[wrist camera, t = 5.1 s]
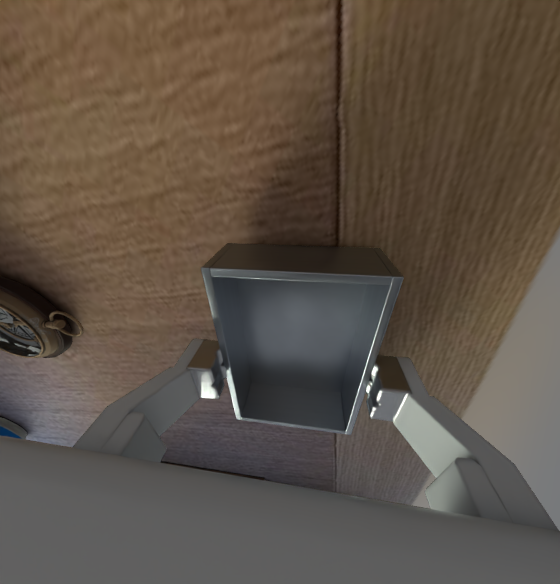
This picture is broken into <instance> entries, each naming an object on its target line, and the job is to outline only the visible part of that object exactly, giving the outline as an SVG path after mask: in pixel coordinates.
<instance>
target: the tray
mask: <svg viewBox="0 0 560 584" xmlns="http://www.w3.org/2000/svg"><path fill="white" fill-rule="evenodd" d="M201 271H202V275H203V279H204V283H205V288H206V292H207V296H208V300H209V305H210V309H211V313H212V317H213V321H214V326H215V330H216V334H217V338H218V343H219V347H220V350H221V354H222V358H223V364H224V367H225V371H226V375H227V381H228V385H229V389H230V393H231V398H232V402H233V406H234V410H235V414H236V419H237V420H245V421H252V422H259V423H266V424H274V425H281V426H288V427H296V428H303V429H310V430H318V431H325V432H332V433H340V434H347V435H351V433H352V430H353V427H354V424H355V421H356V418H357V415H358V412H359V409H360V406H361V403H362V400H363V398H364V395H365V391H366V388H367V385H368V382H369V380H370V377H371V373H372V370H373V367H374V364H375V362H376V359H377V356H378V353H379V350H380V347H381V344H382V341H383V338H384V335H385V332H386V329H387V326H388V323H389V320H390V317H391V314H392V311H393V308H394V305H395V302H396V299H397V296H398V293H399V290H400V287H401V284H402V281H403V278H404V277H403V276H402V274H401V273H400V272H399V271H398V269H397V268H396V267H395V266H394V264H393V263H392V262H391V261H390V259H389V258H388V257H387V255H386V254H385V253H384V252H383V250H382V249H381V248H369V247H336V246H302V245H269V244H236V243H227V244H226V245H225V246H224V247H223V248H222V249H221V250H220V251H218V252H217V253H216V254H215V255H214V256H213V257H212V258H211V259H210V260H209V261H208V262H207V263H206V264H205V265H204V266H202V267H201Z"/></svg>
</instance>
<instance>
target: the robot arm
mask: <svg viewBox="0 0 560 584" xmlns="http://www.w3.org/2000/svg"><path fill="white" fill-rule="evenodd" d="M226 377H227V375H226V371H225V367H224V364H223V358H222V354H221V350H220V347H219V343H218V341H216V340H208V339H197V338H195V339H193V340H192V341H191V343H190V344H189V345H188V347H187V348H186V350H185V351H184V353H183V354H182V356H181V357H180V359H179V360H178V361H177V363H176V364H175V366H174V367H173V368H171V367H170V368H168V369H167V370H165V371H163V372H162V373H160V374H159V375H157V376H155V377H154V378H152V379H151V380H149V381H147V382H146V383H144V384H142V385H141V386H139V387H138V388H136V389H134V390H133V391H131V392H130V393H128V394H126V395H125V396H123V397H122V398H120V399H118V400H117V401H115V402H114V403H112V404H110V405H109V406H107V407H106V408H105V410H104V411H103V412H102V413H101V414H100V415H99V417H98V418H97V419H96V420H95V421H94V423H93V424H92V425H91V426H90V427H89V428H88V430H87V431H86V432H85V433H84V434H83V435H82V437H81V438H80V439H79V440H78V441H77V443H76V444H75V445H74V446H73V447H72V448H71V447H66V446H60V445H54V444H48V443H42V442H36V441H30V440H25V439H19V438H13V437H7V436H1V435H0V584H560V531H559V530H558V529H557V527H556V526H555V524H554V523H553V521H552V520H551V518H550V517H549V515H548V514H547V512H546V511H545V509H544V508H543V506H542V505H541V503H540V502H539V500H538V499H537V497H536V496H535V494H534V493H533V491H532V490H531V488H530V487H529V485H528V484H527V482H526V481H525V479H524V478H523V476H522V475H521V473H520V472H519V470H518V469H517V467H516V466H515V464H514V463H512V462H511V461H510V460H509V459H508V458H506V457H505V456H504V455H503V454H502V453H501V452H499V451H498V450H497V449H496V448H495V447H493V446H492V445H491V444H490V443H489V442H487V441H486V440H485V439H484V438H483V437H482V436H480V435H479V434H478V433H477V432H476V431H474V430H473V429H472V428H471V427H469V426H468V425H467V424H466V423H465V422H464V421H462V420H461V419H460V418H459V417H458V416H457V415H455V414H454V413H453V412H452V411H451V410H449V409H448V408H447V407H446V406H445V405H443V404H442V403H441V402H440V401H439V400H438V399H436V398H435V397H434V396H429V394H428V392H427V390H426V388H425V386H424V384H423V382H422V380H421V378H420V376H419V375H418V373H417V371H416V369H415V367H414V365H413V363H412V361H411V359H410V358H408V357H396V356H395V357H394V356H385V355H378V356H377V359H376V362H375V364H374V367H373V370H372V373H371V377H370V380H369V382H368V385H367V388H366V391H365V393H366V394H367V395H368V398H367V401H366V402H367V407H368V411H369V415H370V418H372V419H378V420H385V421H391V422H394V425H395V426H396V427H397V428H398V430H399V431H400V432H401V434H402V435H403V436H404V437H405V439H406V440H407V441H408V443H409V444H410V445H411V446H412V448H413V449H414V450H415V452H416V453H417V454H418V455H419V457H420V458H421V459H422V461H423V462H424V463H425V465H426V466H427V467H428V468H429V470H430V471H431V472H432V474H433V475H434V476H435V477H436V479H435V480H434V481H433V482H432V483H431V484H430V485H429V486H428V487H427V489H426V490H425V494H426V497H427V500H428V503H429V506H430V509H428V508H423V507H417V506H411V505H405V504H399V503H393V502H388V501H382V500H376V499H370V498H364V497H358V496H352V495H347V494H341V493H335V492H329V491H323V490H317V489H312V488H306V487H300V486H294V485H288V484H282V483H276V482H271V481H265V480H259V479H253V478H247V477H241V476H235V475H230V474H224V473H218V472H212V471H206V470H200V469H194V468H189V467H183V466H177V465H171V464H165V463H160V462H161V460H162V458H163V456H164V454H165V452H166V446H165V444H164V443H163V441H162V440H161V438H160V436H161V435H162V434H163V433H164V432H165V431H166V430H167V429H168V428H169V427H170V426H171V425H172V424H173V423H174V422H175V421H176V420H178V419H179V418H180V417H181V416H182V415H183V414H184V413H185V412H186V411H187V410H188V409H189V408H190V407H191V406H192V405H193V404H194V403H196V402H197V401H198V400H199V399H200V398H199V397H201V398H211V399H219V398H220V395H221V393H222V390H223V388H224V385H225V384H224V379H225V378H226Z"/></svg>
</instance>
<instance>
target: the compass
mask: <svg viewBox="0 0 560 584" xmlns="http://www.w3.org/2000/svg"><path fill="white" fill-rule="evenodd" d="M62 315H64V316H66V317H68V318H70V319H71V320H73V321H74V322H75V323H76V324H77V325H78V327H79V329H80V333H79V334H72V331H71V329H70V327H69V325H68V323H67V321H66V319H65V318H64V317H63V316H62ZM82 334H83V327H82V325H81V323H80V322H79V321H78V320H77V319H75V318H74V317H73V316H71V315H69V314H67V313H65V312H60V311H58V310H57V309H56V308H55V307H54V306H53V305H52V304H51V303H50V302H48V301H47V300H46V299H45V298H43V297H42V296H40V295H39V294H38V293H36V292H35V291H33V290H32V289H30V288H28V287H26V286H24V285H22V284H20V283H18V282H16V281H13V280H10V279H7V278H4V277H1V276H0V350H2V351H5V352H7V353H10V354H12V355H16V356H20V357H26V358H41V357H43V358H51V357H56V356H58V355H60V354H62V353H63V352H64V351H66V350H67V349H68V348H70V346H71V344H72V342H73V341H72V336H74V337H76V336H81V335H82Z"/></svg>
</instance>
